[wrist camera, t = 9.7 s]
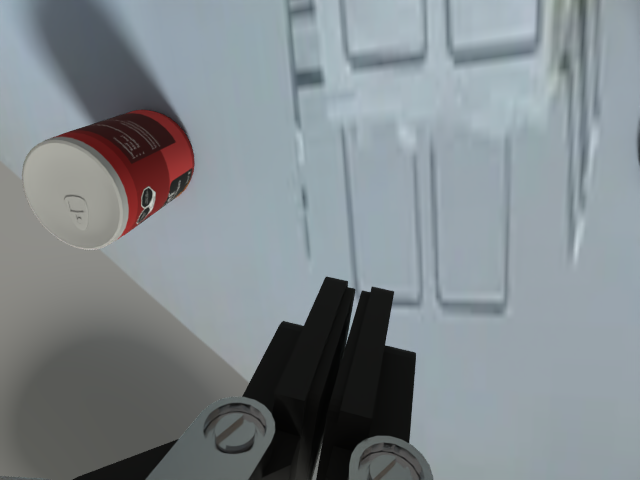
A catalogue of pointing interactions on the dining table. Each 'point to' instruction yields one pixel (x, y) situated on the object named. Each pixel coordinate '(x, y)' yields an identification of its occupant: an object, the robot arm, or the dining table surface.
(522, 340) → the dining table surface
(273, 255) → the dining table surface
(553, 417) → the dining table surface
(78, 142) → the canned food
